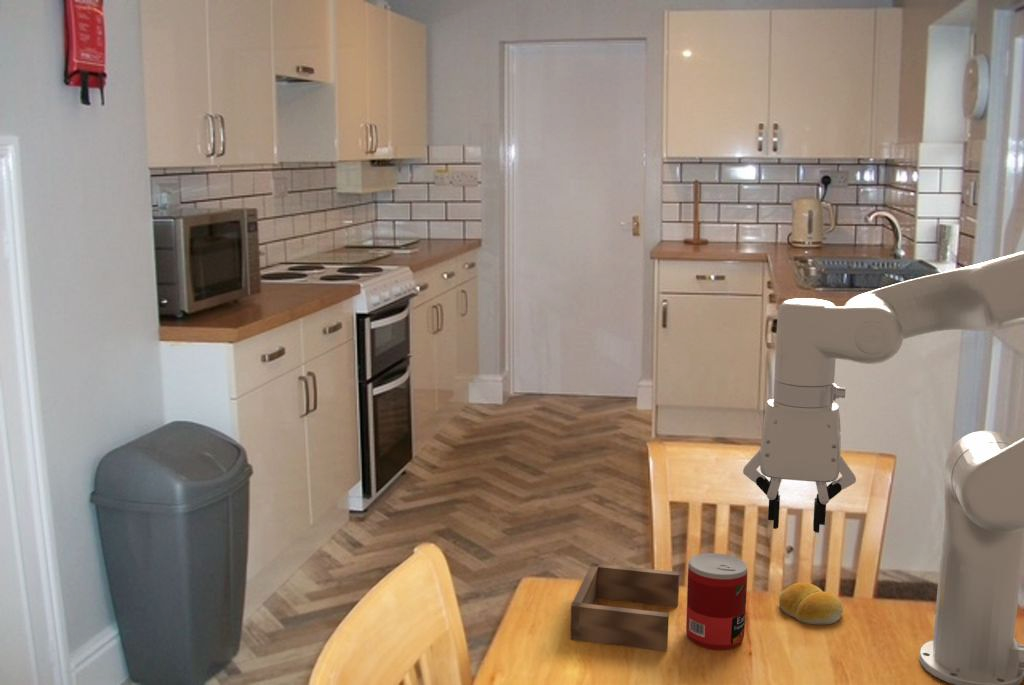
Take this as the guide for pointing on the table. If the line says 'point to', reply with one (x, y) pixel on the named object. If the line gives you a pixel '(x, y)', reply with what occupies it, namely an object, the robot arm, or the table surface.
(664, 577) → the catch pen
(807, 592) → the bread roll
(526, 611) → the table surface
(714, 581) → the canned food
